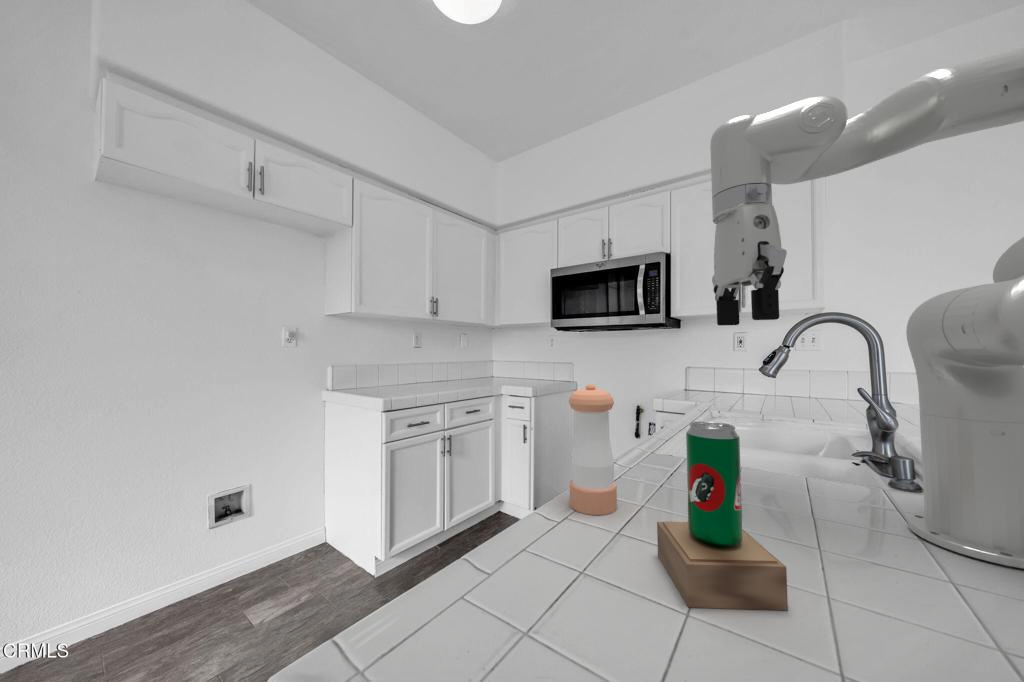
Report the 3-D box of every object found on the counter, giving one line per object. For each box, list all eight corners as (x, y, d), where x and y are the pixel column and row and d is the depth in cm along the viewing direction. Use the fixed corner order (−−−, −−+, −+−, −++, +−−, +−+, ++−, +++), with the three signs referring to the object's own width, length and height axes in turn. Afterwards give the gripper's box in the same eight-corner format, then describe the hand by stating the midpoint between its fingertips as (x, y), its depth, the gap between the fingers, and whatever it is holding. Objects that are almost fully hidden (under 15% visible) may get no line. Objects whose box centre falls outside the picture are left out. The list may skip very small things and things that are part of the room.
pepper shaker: (616, 498, 62) (614, 382, 62) (617, 517, 55) (614, 386, 55) (572, 495, 64) (570, 382, 64) (567, 512, 57) (564, 386, 57)
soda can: (751, 553, 37) (747, 430, 37) (695, 548, 38) (692, 428, 38) (732, 529, 42) (729, 421, 42) (683, 525, 43) (681, 420, 43)
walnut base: (736, 557, 44) (735, 520, 44) (787, 610, 35) (786, 563, 35) (657, 555, 44) (656, 519, 44) (688, 607, 35) (687, 561, 35)
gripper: (810, 178, 46) (816, 316, 46) (736, 226, 64) (740, 326, 63) (747, 181, 47) (752, 317, 46) (691, 227, 64) (694, 327, 63)
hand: (745, 322), depth 55 cm, fingers open, 9 cm apart
